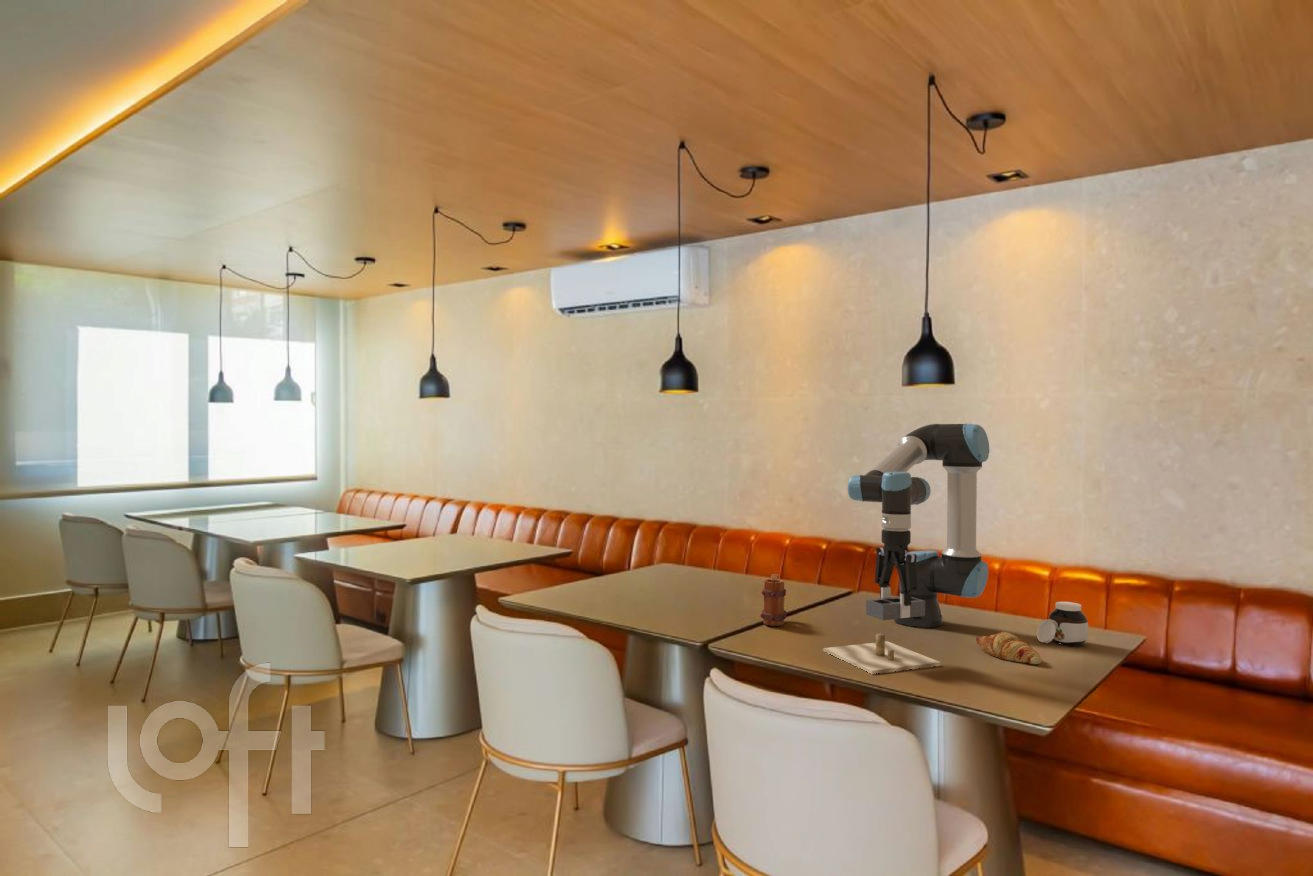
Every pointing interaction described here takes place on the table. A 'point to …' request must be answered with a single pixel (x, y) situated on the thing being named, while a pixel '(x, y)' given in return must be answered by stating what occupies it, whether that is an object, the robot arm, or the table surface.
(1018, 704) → the table surface
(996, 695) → the table surface
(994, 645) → the croissant
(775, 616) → the brown banded canister
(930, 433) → the robot arm
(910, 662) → the mount board
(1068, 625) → the spread jar
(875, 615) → the grey compartment tray
